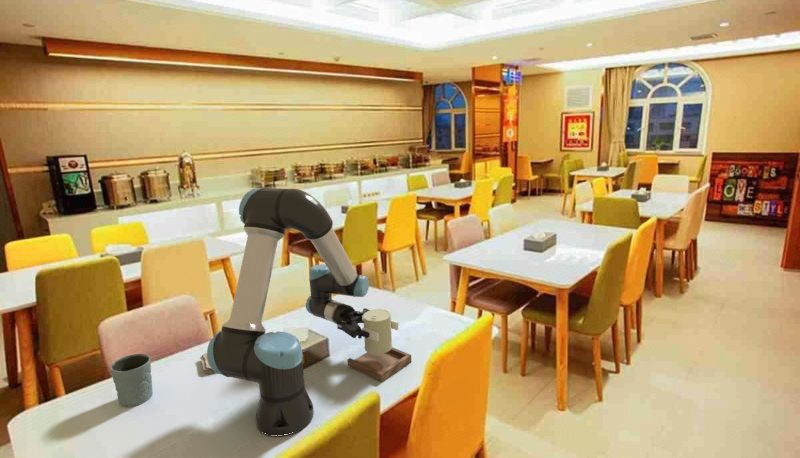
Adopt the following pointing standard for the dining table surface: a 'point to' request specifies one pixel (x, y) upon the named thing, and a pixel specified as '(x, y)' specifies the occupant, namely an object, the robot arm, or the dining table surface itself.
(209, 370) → the washcloth
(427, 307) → the dining table surface
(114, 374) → the grey embossed cup
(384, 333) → the can
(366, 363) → the tray
